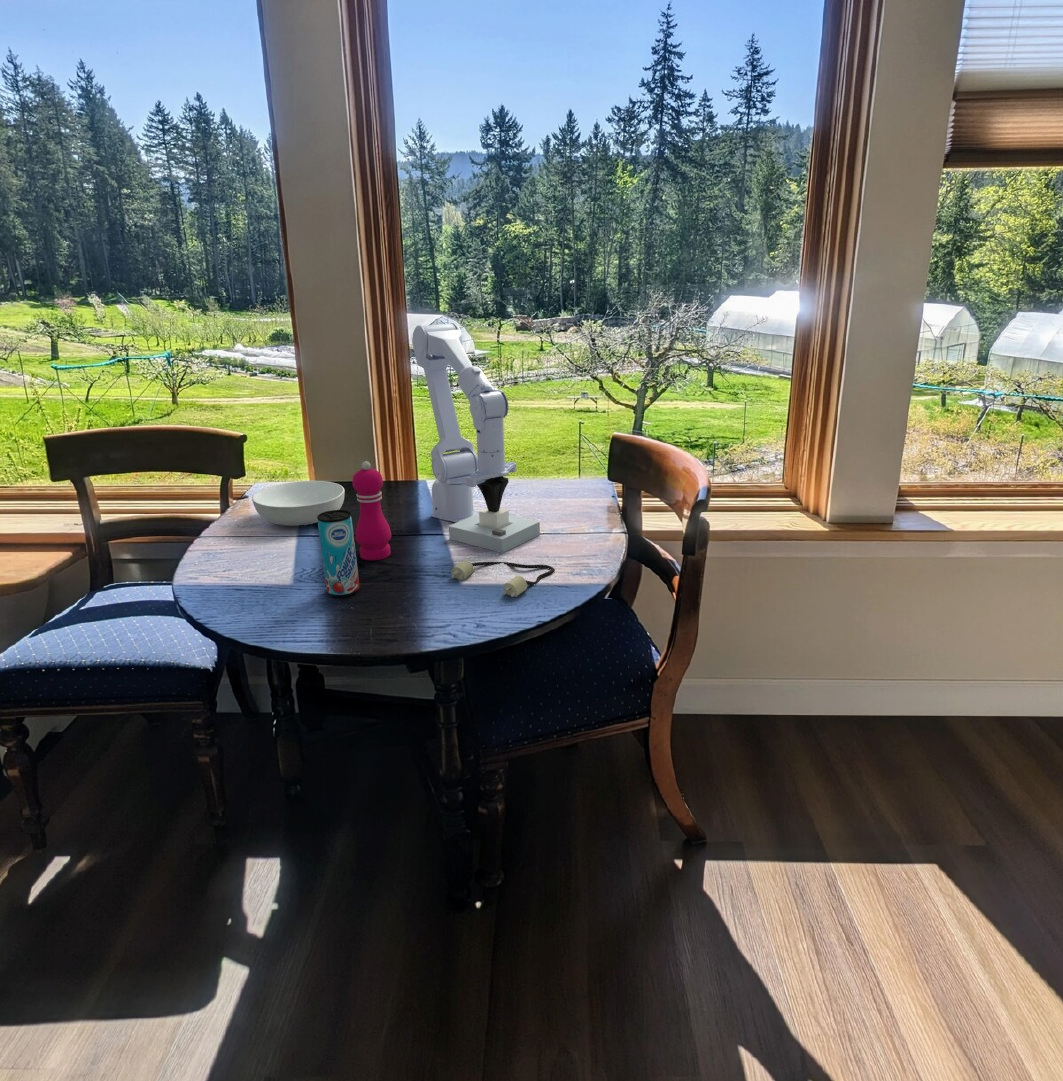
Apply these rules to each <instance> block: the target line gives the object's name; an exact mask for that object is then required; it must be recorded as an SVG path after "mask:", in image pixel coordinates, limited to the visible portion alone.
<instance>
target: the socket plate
mask: <svg viewBox="0 0 1063 1081" xmlns="http://www.w3.org/2000/svg"><path fill="white" fill-rule="evenodd" d="M540 525H541V524H540V521H539V520H535V519H529V518H524V517H520V516H515V515H511V514H509V525H508V526H506V527H504V528H502V529H491V528H486V527H482V526H480V522H479V514H476V515H474V516H471V517H469V518H467V519H464V520H462V521H459V522H457V523H456V522H453V524H449V525H448V539H449V540H453V541H456V542H460V543H464V544H467V545H471V546H475V547H479V548H483V549H486V550H490V551H491V550H492V551H495V552H498V553H502V554H504V553H506V552H509V550H512V549H513V548H515V547H517V546H521V544H524V543H526V542H527V541H530V540H532V539H534V538H536V537H538V536H540V535H541V529H540V528H541V526H540Z"/></svg>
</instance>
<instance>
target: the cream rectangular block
mask: <svg viewBox="0 0 1063 1081" xmlns="http://www.w3.org/2000/svg"><path fill="white" fill-rule="evenodd" d="M509 511H510V510H508V509H503V508H500V509H499V511H498V512H491V511H488V508H487V507H486V508H483V509H481V510H479V511H478V512H479V522H480V526H482V527H486V528H491V529H502V528H504V527H506V526H508V525H509V515H510V512H509Z"/></svg>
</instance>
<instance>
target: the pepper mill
mask: <svg viewBox="0 0 1063 1081" xmlns="http://www.w3.org/2000/svg"><path fill="white" fill-rule="evenodd" d="M371 465H372V464H371V463H370V462H369V461H367V460H366V461H363V462H362V463H361V468H362V469H359V470H357V471H356V472H355V473H354V475H353V476H352V487H353V489H354V490H355V491H356V492H357V493H356V501H357V502H358V503H359V509H360V510H359V519H358V521H357V525H356V529H355V540H356V542H357V544H359V545H360V547H359V556H360V558H361V559H362V560H366V561H380V560H383V559H386V558H388V557H389V556H391V546H390V544H389V542H390V540H391V538H392V532H391V527H390V525H389V523H388V521H387V518H386V517H385V516H384V514H383V511H382V506H381V500H382V499H383V496H382V493H383V492H382V491H381V489H382V488H383V485H384V479H383V475H382V474H381V473H380V471H378V470H377V469H375V468H371Z"/></svg>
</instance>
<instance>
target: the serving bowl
mask: <svg viewBox="0 0 1063 1081" xmlns="http://www.w3.org/2000/svg"><path fill="white" fill-rule="evenodd" d="M344 500H345V488H344V487H343V486H342V485H341V484H339V483H335V482H332V481H325V480H299V481H292V482H284V483H283V482H282V483H278V484H274V485H271V486H268V487H265V488H262V489H260V490H258V491H256V492H255V493H254V494H253V495H252V498H251V501H252V503H253V506H254V509H255V511H256V512H257V513H258V515H259V516H260V517H261V518H262V519H264V520H265V521H267V522H269V523H272V524H275V525H279V526H288V527H289V526H290V527H300V526H299V525H304V526H308V524H310V525H313V523H314V524H316V523H317V524H318V519H317V516H318V515H319V514H321V513H323V512H326V511H332V510H341V508H342V506H343V504H344Z"/></svg>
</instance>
